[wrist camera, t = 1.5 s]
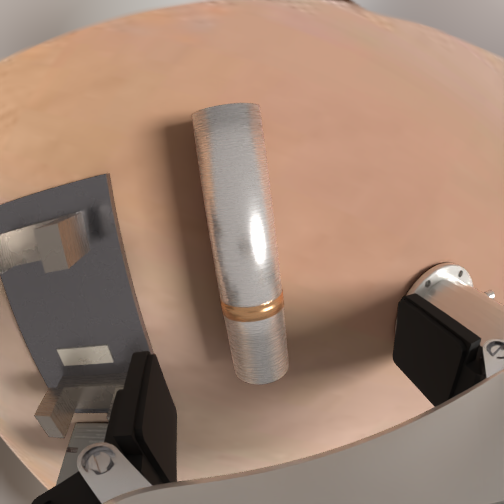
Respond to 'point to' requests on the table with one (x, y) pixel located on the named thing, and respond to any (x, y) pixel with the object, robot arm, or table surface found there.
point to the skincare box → (80, 446)
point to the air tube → (243, 237)
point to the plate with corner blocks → (72, 296)
